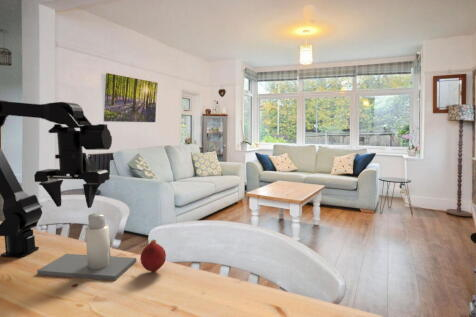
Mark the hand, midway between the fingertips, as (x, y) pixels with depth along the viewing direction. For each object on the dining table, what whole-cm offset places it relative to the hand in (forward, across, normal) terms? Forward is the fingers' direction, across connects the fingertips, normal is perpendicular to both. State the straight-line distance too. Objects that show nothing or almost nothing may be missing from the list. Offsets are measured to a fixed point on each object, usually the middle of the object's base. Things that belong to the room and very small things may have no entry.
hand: (74, 207), depth 87 cm
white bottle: (+12, -12, +8) cm, 19 cm away
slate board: (+13, -9, +8) cm, 18 cm away
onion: (+13, -26, +8) cm, 30 cm away
